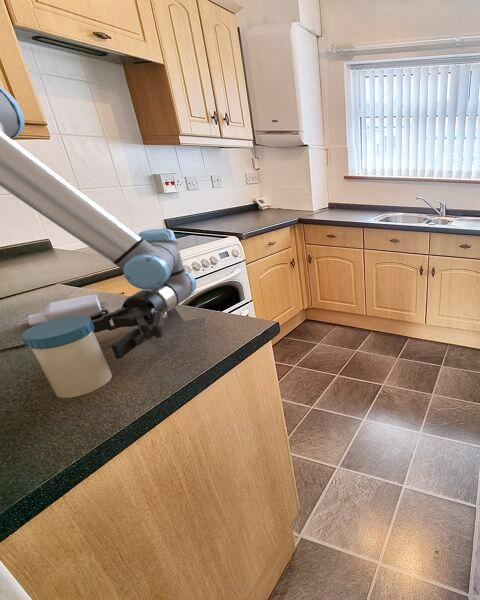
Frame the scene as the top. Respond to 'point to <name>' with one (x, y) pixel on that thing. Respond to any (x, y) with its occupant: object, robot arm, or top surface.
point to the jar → (74, 367)
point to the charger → (65, 309)
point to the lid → (58, 332)
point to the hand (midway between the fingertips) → (76, 353)
